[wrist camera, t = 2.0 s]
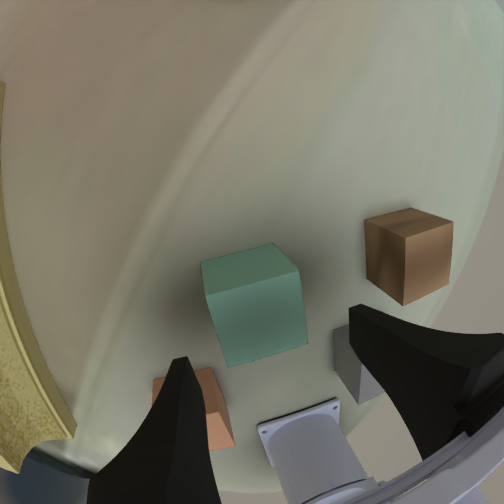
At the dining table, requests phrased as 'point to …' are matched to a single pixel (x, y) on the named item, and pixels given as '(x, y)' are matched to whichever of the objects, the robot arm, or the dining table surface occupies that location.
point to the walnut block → (408, 253)
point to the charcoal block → (353, 369)
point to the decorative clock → (23, 370)
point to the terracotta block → (210, 409)
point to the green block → (255, 303)
